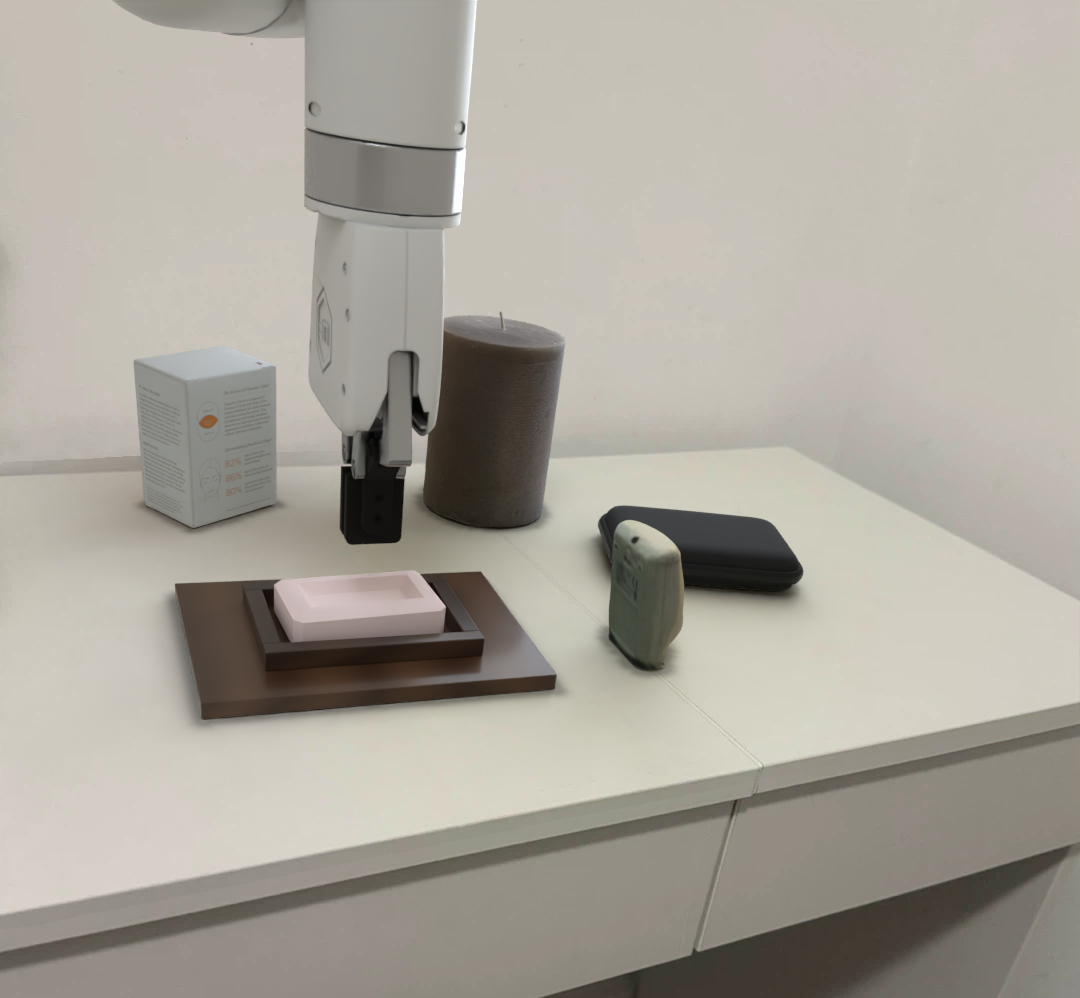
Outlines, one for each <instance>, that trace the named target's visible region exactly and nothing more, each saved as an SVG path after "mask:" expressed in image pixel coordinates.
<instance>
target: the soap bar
mask: <svg viewBox="0 0 1080 998" xmlns="http://www.w3.org/2000/svg"><path fill="white" fill-rule="evenodd" d="M420 574H421V573H419V572H418V571H416V570H414V569H411V570H410V569H409V570H395V571H382V572H368V573H367V572H366V573H355V574H340V575H325V576H312V577H297V578H281V579H282V580H280V581H279V582H277V583H276V584H274V612H275V613H276V615H277V617H278V619H279V621H280V623H281V625H282V627H283V629H284V631H285V633H286V635H287V636H288V638H289V640H290V642H305V641H321V640H337V639H354V638H370V637H386V636H402V635H418V634H435V633H443V631H444V620H445V610H446V606H445V605H444V604H443V603H442V601H441V600H440V599H439V597H438V596H437V595H436V594H435V592H434V591H433V590H432V589H431V587H430V586H429V585H428V584H427V582H426V581H425V580H424V578H423V577H422V576H421V575H420Z"/></svg>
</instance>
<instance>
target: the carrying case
mask: <svg viewBox="0 0 1080 998" xmlns="http://www.w3.org/2000/svg"><path fill="white" fill-rule="evenodd" d="M625 520H634V521H638V522H641V523H643V524H646V525H648V526H650V527H652V528H654V529H656V530H658V531H659V532H661V533H663V534H664V535H665V536H667V537H668V538H669V539H670V540H671V541H672V542H673V543H674V544H675V545H676V546H677V548H678V549H679V551H680V554H681V565H682V572H683V580H684V585H685V586H686V585H688V586H698V587H699V586H700V587H710V588H724V589H736V590H737V589H738V590H749V591H762V592H763V591H764V592H782V591H786V590H788V589H790V588H791V587H792V586H794V585H796V584H798V583H799V582H800V581H801V580H802V578H803V576H804V567H803V565H802V564H801V562H800V560H799V559H798V557H797V555H796V554H795V553H794V551H793V550H792V548H791V547H790V546H789V544H788V543H787V541H786V540H785V539H784V537H783V535H782V534H781V533H780V531H779V530H778V528H777V527H776V526H775V525H774V524H773V522H770V521H769V520H766V519H764V518H759V517H754V516H747V515H745V516H744V515H736V514H735V515H734V514H725V513H715V512H705V511H694V510H683V509H671V508H663V507H651V506H648V507H647V506H638V505H615V506H613V507H611V508H610V509H609V510H607V512H605V513H604V514H602V515H601V516H600V518H598V522H597V528H598V530H599V533H600V537H601V540H602V542H603V545H604V548H605V551H606V554H607V556H608V560H609V561H610V563H611V564H612V552H613V540H614V532H615V529H616V527H617V526H618V524H619V523H621V522H623V521H625Z"/></svg>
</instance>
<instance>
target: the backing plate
mask: <svg viewBox="0 0 1080 998" xmlns="http://www.w3.org/2000/svg"><path fill="white" fill-rule="evenodd" d="M419 574H420V575H421V576H422V577H423V578H424V580H425V581H426V582H427V584H428V585H429V586H430V587H431V589H432V590H433V591H434V592H435V594H436V595H437V596H438V597H439V599H440V600H441V601H442V603H443V604H444V605H445V606H446V610H445V620H444V631H443V633H435V634H418V635H402V636H386V637H370V638H354V639H337V640H321V641H305V642H290V640H289V638H288V636H287V635H286V633H285V631H284V629H283V627H282V625H281V623H280V621H279V619H278V617H277V615H276V613H275V612H274V584H276V583H277V582H279V581H280V580H282V579H283V578H279V579H277V578H275V579H254V580H253V579H252V580H232V581H231V580H229V581H228V580H226V581H202V582H201V581H200V582H179V583H177V582H175V583H174V597H175V602H176V607H177V612H178V616H179V621H180V626H181V630H182V635H183V640H184V644H185V648H186V653H187V658H188V662H189V667H190V673H191V676H192V681H193V687H194V691H195V696H196V700H197V705H198V709H199V714H200V718H201V720H207V719H220V718H233V717H242V716H243V717H244V716H255V715H267V714H279V713H289V712H290V713H291V712H302V711H303V712H304V711H313V710H325V709H336V708H337V709H338V708H346V707H347V708H348V707H358V706H359V707H360V706H371V705H384V704H395V703H407V702H418V701H419V702H420V701H430V700H441V699H452V698H453V699H455V698H464V697H476V696H478V697H479V696H488V695H500V694H501V695H502V694H511V693H523V692H535V691H546V690H547V691H548V690H554V689H555V688H556V682H557V676H558V675H557V673H556V672H555V671H554V669H553V668H552V666H551V665H550V663H549V662H548V661H547V659H546V658H545V657H544V655H543V654H542V653H541V651H540V650H539V649H538V647H537V646H536V644H535V643H534V642H533V640H532V639H531V637H530V636H529V635H528V634H527V632H526V630H524V628H523V627H522V625H521V624H520V622H519V621H518V620H517V618H516V617H515V615H514V614H513V613H512V612H511V610H510V609H509V608H508V606H507V605H506V603H505V602H504V601H503V599H502V598H501V596H500V595H499V594H498V592H497V590H495V588H494V587H493V586H492V584H491V583H490V581H489V580H488V579H487V578H486V576H485V575H484V573H483V572H482V571H458V572H457V571H455V572H454V571H453V572H432V573H430V572H428V573H419Z"/></svg>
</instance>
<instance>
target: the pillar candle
mask: <svg viewBox="0 0 1080 998" xmlns="http://www.w3.org/2000/svg"><path fill="white" fill-rule="evenodd" d="M565 348H566V336H564V335H562V333H560V332H558V331H555V330H552V329H549V328H546V327H544V326H542V325H541V326H540V325H538V324H534V323H532V322H526V321H522V320H517V319H512V318H505V317H504V315H503V311H499V317H498V316H491V315H486V314H485V315H484V314H473V315H471V314H467V315H465V314H463V315H452V316H447V317H444V330H443V354H442V373H441V386H440V397H439V406H438V413H437V419H436V424H435V427H434V428H433V429H432V430H431V432H429V433H428V434H427V443H426V444H427V445H426V453H425V454H426V455H425V467H424V468H425V469H424V481H423V489H422V492H423V493H422V495H423V500H424V501H423V502H424V504H425V505H426V507H427V508H429V509H430V511H432V512H434V513H436V514H438V515H439V516H442V517H444V518H448V519H450V520H453V521H456V522H458V523H461V524H465V525H469V526H472V527H480V528H513V527H519V526H526V525H529V524H531V523H533V522H536V520H538V519H539V518H540V517H541V515H542V514H543V513H542V511H543V508H544V499H545V492H546V487H547V486H546V485H547V478H548V472H549V471H548V469H549V464H550V457H551V452H552V451H551V450H552V442H553V436H554V435H553V434H554V427H555V421H556V415H557V406H558V398H559V394H560V393H559V392H560V385H561V379H562V371H563V370H562V369H563V363H564V357H565V356H564V355H565Z"/></svg>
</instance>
